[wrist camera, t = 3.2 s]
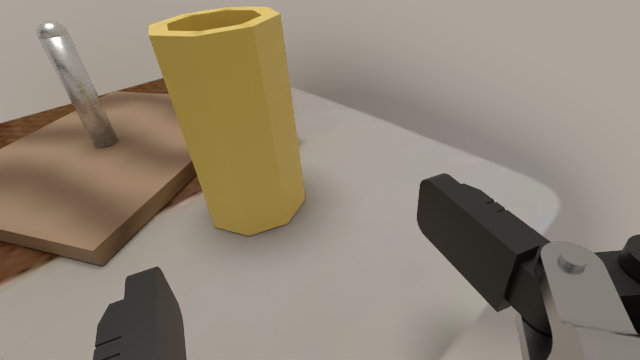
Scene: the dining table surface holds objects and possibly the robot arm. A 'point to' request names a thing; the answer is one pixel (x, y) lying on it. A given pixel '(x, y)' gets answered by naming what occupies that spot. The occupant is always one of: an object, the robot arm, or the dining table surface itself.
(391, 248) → the dining table surface
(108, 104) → the board
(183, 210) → the dining table surface
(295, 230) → the dining table surface
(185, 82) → the yellow hollow tube
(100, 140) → the steel post
